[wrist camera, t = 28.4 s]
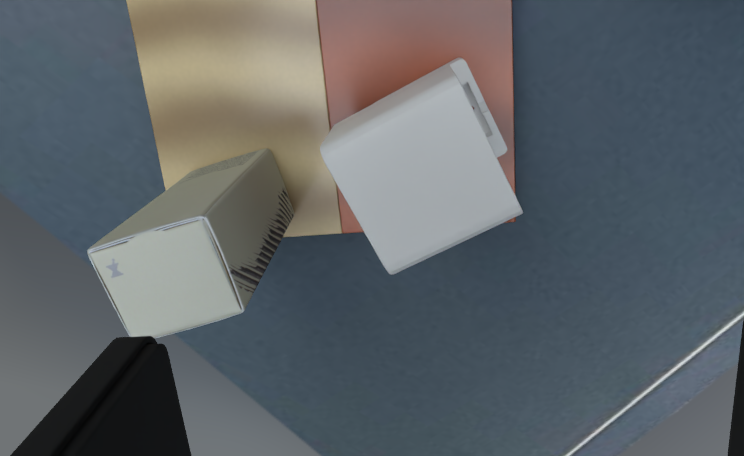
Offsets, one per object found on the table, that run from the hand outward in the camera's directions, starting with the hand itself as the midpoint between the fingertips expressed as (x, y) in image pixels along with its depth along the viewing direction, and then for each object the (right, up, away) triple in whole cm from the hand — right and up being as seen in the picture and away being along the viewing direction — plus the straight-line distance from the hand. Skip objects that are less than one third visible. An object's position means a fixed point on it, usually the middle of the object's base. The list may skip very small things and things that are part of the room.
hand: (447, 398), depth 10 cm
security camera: (+2, +8, +24) cm, 26 cm away
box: (-8, +5, +26) cm, 28 cm away
